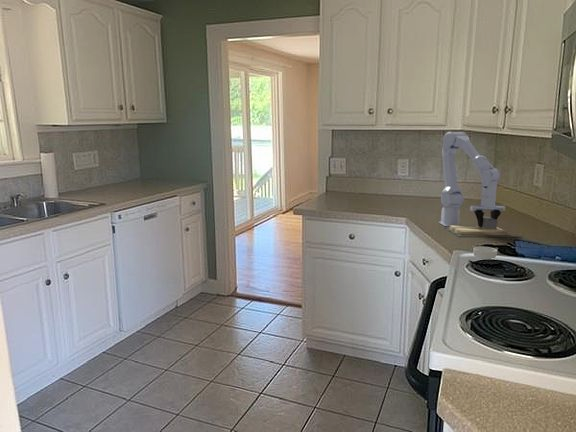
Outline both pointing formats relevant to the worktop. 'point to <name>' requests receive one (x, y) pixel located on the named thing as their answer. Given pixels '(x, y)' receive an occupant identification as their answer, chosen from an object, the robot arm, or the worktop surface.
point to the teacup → (484, 252)
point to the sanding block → (489, 223)
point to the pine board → (476, 231)
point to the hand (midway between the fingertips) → (486, 226)
